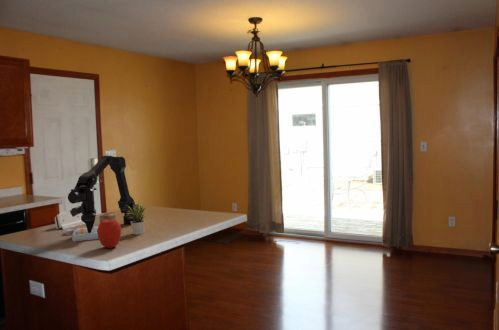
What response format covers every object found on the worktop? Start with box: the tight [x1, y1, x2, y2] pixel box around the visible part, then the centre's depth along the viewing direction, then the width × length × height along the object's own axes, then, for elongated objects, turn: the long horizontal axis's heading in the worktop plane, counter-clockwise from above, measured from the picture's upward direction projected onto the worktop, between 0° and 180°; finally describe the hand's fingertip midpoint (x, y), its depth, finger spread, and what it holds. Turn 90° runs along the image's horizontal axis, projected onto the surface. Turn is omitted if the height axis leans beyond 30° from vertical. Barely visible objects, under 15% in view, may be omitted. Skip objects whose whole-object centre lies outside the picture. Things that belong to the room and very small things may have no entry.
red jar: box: [97, 219, 122, 249], centre depth 185 cm, size 10×10×14 cm
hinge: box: [54, 209, 86, 230], centre depth 236 cm, size 17×5×10 cm, turn 157°
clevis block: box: [64, 212, 117, 236], centre depth 219 cm, size 25×8×8 cm, turn 109°
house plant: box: [126, 202, 147, 236], centre depth 212 cm, size 14×14×16 cm
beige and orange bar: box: [76, 226, 98, 234], centre depth 206 cm, size 12×4×4 cm, turn 109°
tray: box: [71, 230, 99, 242], centre depth 207 cm, size 17×11×3 cm, turn 109°
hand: (89, 231), depth 206 cm, fingers open, 8 cm apart
